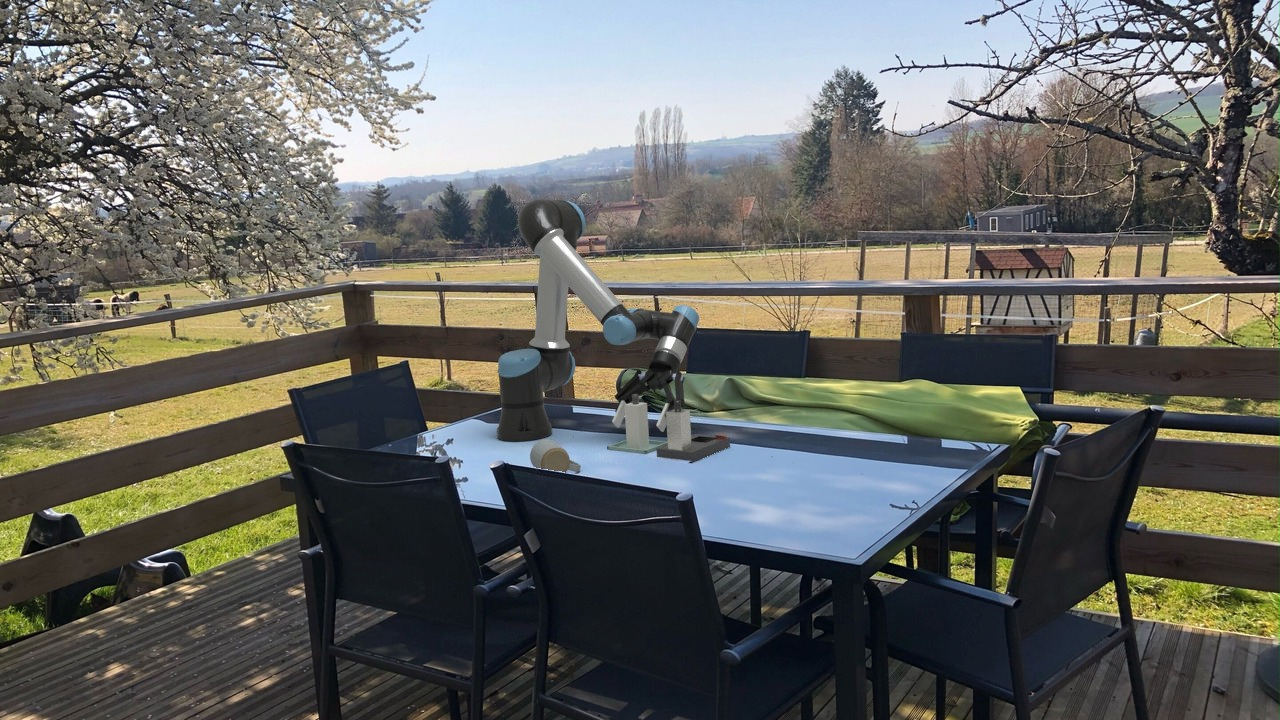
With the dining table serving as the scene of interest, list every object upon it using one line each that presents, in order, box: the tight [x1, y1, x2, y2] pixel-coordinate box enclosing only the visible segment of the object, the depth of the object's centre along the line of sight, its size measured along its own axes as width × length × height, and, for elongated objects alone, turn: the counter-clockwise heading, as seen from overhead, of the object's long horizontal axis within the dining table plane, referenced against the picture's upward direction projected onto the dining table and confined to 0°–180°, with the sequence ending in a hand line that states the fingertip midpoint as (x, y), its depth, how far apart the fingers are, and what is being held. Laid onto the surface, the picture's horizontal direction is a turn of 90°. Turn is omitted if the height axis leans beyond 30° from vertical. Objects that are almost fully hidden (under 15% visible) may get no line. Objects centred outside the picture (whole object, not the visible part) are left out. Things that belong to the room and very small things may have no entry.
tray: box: [606, 439, 668, 455], centre depth 222 cm, size 12×10×1 cm
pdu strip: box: [656, 399, 731, 464], centre depth 215 cm, size 10×17×14 cm, turn 144°
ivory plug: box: [624, 394, 650, 449], centre depth 222 cm, size 4×4×13 cm
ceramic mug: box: [529, 438, 582, 473], centre depth 203 cm, size 11×8×8 cm
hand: (637, 426), depth 221 cm, fingers open, 13 cm apart
